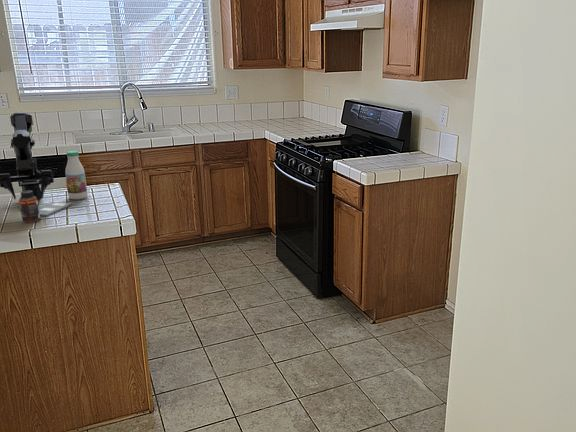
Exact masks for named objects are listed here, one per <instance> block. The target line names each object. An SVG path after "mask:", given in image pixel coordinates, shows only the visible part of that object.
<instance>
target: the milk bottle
mask: <svg viewBox="0 0 576 432" xmlns="http://www.w3.org/2000/svg"><path fill="white" fill-rule="evenodd" d="M66 156H67V163H66V166H65V172H64V173H65V182H66V183H65V184H66V190H67V196H68V199H70V200H83V199H86V198H87V197H88V188H87V187H88V186H87V179H86V173H85V169H84V166H83V164H82V163H81V161H80V159H79V151H77V150H70V151H66Z"/></svg>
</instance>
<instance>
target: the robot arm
mask: <svg viewBox="0 0 576 432" xmlns="http://www.w3.org/2000/svg"><path fill="white" fill-rule="evenodd" d="M9 119H10V125H11V126H12V127H13V130H14V132H13V133H12V138H11V139H10V147H11V148H12V149H13V151H14V154H15V165H16V167H15V169H16V170H15V171H16V175H14V176H13V175H12V176H11V173H9V172H8V173H0V188H4V189H5V190H8V191H9V193H10V194H11V195H12V198H13V199H14V200H16V199H17V198H16V194H15V189H14V186H13V182H17V183H18V187H21V190H22V191H26V190H31V191H33V195H34V196H35V197H36V198H37V200H39V199H41V198H44V194H45V191H46V189H47V187H48V186H50V185H51V184H53V183H55V181H54V172H53V170H52V169H45V170H44V169H43V170H38V164H37V158H36V157H33V152H32V151H31V150H33V147H34V146H35V145H36V141H35V140H34V138H33V137H31V133H32V131H33V126H34V121H33V116H32V114H29V113H27V112H25V111H24V112H23V111H22V112H14V113H13V114H11V115H10V116H9ZM22 191H21V192H22Z"/></svg>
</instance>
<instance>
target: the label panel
mask: <svg viewBox="0 0 576 432" xmlns="http://www.w3.org/2000/svg"><path fill="white" fill-rule="evenodd" d="M72 206H73V203H71V202H60V201H49V202H48V203H45V204H42V205H40V206H38V209H39V215H40V217H45V218H47V217H49V216H52V215H54V214H56V213H58V212H61V211H63V210H65V209H67V208H70V207H72Z"/></svg>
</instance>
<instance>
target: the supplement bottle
mask: <svg viewBox="0 0 576 432" xmlns="http://www.w3.org/2000/svg"><path fill="white" fill-rule="evenodd" d="M18 202H19V208H20V214H21V220H22V222H23V223H25V224H30V223H31V224H32V223H36V222H39V221H40V220H41V216H40V215H39V209H38V207H39V203H38V199H37V198H36V197H35V196H34V195H33V191H31V190H26V191H20V198H19V199H18Z"/></svg>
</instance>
